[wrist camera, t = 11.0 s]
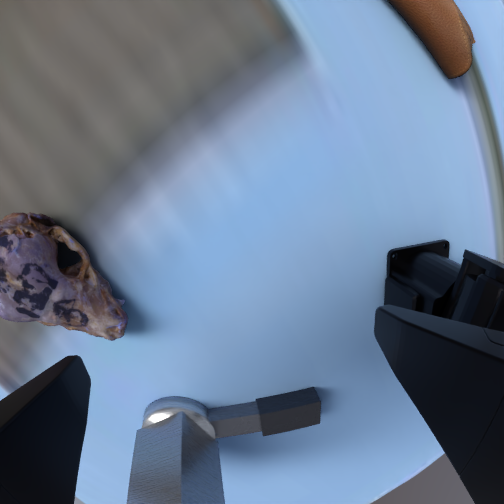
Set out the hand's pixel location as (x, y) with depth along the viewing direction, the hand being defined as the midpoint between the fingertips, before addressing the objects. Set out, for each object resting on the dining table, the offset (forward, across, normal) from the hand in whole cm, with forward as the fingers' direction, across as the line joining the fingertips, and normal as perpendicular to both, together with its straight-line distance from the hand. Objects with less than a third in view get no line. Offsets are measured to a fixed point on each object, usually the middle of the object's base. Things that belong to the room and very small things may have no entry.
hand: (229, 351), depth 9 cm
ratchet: (+13, +1, +16) cm, 21 cm away
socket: (+11, +6, +16) cm, 20 cm away
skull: (+13, +12, +1) cm, 18 cm away
